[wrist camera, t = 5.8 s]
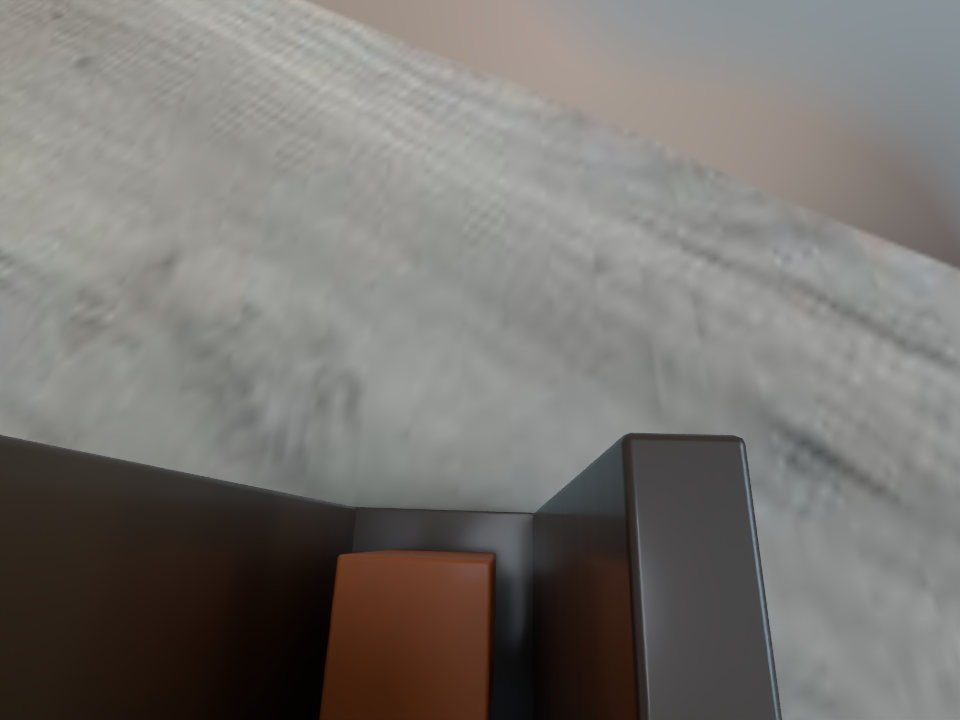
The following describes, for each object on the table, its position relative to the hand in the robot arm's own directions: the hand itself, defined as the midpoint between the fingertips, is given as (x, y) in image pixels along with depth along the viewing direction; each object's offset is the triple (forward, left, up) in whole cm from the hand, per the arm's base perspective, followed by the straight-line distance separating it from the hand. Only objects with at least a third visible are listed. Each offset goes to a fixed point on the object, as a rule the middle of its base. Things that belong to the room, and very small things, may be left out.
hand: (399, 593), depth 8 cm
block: (-1, -1, -6) cm, 6 cm away
